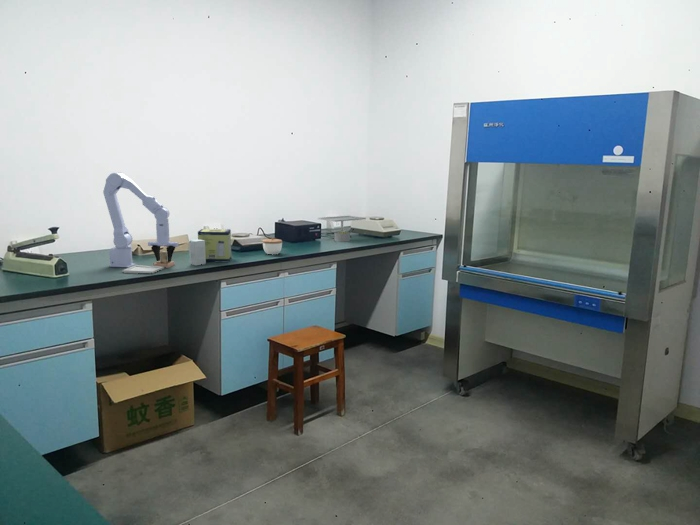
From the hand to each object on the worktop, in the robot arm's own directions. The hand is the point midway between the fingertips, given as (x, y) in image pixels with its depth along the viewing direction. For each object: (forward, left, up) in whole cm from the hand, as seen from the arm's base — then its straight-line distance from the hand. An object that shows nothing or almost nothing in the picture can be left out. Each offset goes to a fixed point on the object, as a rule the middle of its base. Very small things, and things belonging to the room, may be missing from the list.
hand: (163, 261), depth 270 cm
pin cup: (0, 0, -2) cm, 2 cm away
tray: (-4, -13, -2) cm, 14 cm away
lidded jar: (+42, +46, -3) cm, 62 cm away
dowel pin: (0, 0, -2) cm, 2 cm away
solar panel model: (+73, +108, -3) cm, 130 cm away
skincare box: (+14, +8, -3) cm, 16 cm away
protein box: (+18, +21, -3) cm, 28 cm away
